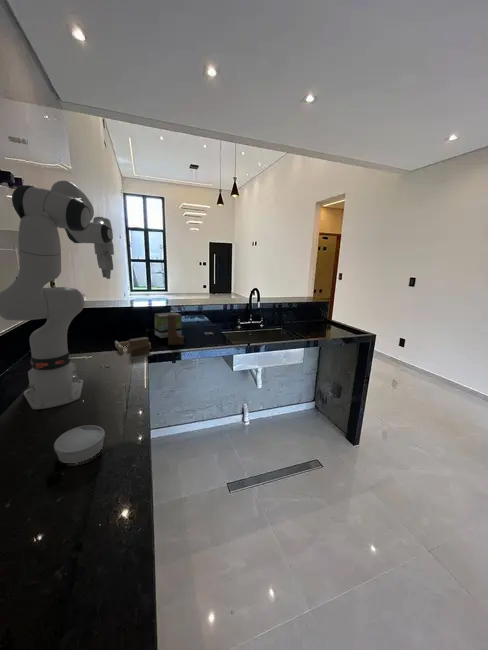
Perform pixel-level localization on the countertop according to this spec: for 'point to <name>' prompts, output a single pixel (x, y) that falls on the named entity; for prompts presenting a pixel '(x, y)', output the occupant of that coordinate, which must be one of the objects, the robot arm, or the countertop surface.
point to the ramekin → (79, 443)
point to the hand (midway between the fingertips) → (106, 278)
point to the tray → (124, 349)
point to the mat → (139, 356)
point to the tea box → (166, 324)
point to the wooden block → (173, 332)
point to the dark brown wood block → (139, 346)
